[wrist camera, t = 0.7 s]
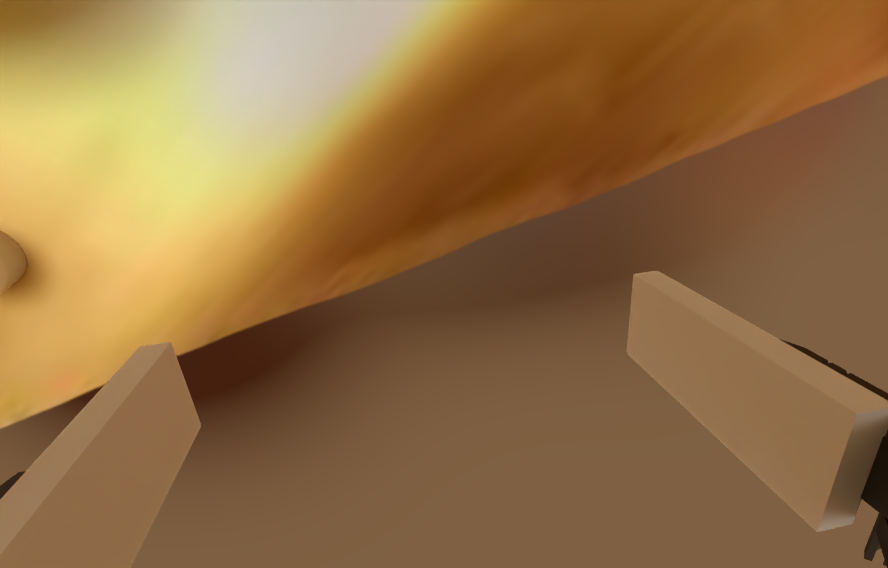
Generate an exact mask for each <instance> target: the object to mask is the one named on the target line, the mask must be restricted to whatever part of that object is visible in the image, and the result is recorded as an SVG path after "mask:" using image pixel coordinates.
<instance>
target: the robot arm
mask: <svg viewBox="0 0 888 568" xmlns="http://www.w3.org/2000/svg"><path fill="white" fill-rule="evenodd" d="M627 354H628V355H629V356H630V357H631V358H633V359H634V360H635V361H636V362H637V363H638V364H639V365H640V366H641V367H642V368H643V369H644V370H645V371H646V372H648V374H650V375H651V376H652V377H653V378H654V379H655V380H656V381H657V382H658V383H659V384H660V385H661V386H662V387H663V388H664V389H665V390H667V391H668V392H669V393H670V394H671V395H672V396H673V397H674V398H675V399H676V400H677V401H678V402H679V403H681V405H682V406H684V407H685V408H686V409H687V410H688V411H689V412H690V413H691V414H692V415H693V416H694V417H695V418H696V419H698V421H700V422H701V423H702V424H703V425H704V426H705V427H706V428H707V429H708V430H709V431H710V432H711V433H713V435H714V436H716V437H717V438H718V439H719V440H720V441H721V442H722V443H723V444H724V445H725V446H726V447H728V449H729V450H730V451H732V452H733V453H734V454H735V455H736V456H737V457H738V458H739V459H740V460H741V461H742V462H743V463H744V464H745V465H746V466H748V468H750V469H751V470H752V471H753V472H754V473H755V474H756V475H757V476H758V477H759V478H760V479H761V480H763V482H765V483H766V484H767V485H768V486H769V487H770V488H771V489H772V490H773V491H774V492H775V493H776V494H777V495H778V496H779V497H781V498H782V499H783V500H784V501H785V502H786V503H787V504H788V505H789V506H790V507H791V508H792V509H793V510H795V512H796V513H798V514H799V515H800V516H801V517H802V518H803V519H804V520H805V521H806V522H807V523H808V524H809V525H810V526H811V527H813V528H814V529H815V530H816V531H817V532H819V531H824V530H828V529H832V528H836V527H840V526H845V525H849V524H853V521H854V518H855V516H856V513H857V510H858V508H859V505H860V502H861V500H862V499H863V500H864V501H865V502H867V503H868V504H869V505H870V506H872V507H873V508H874V509H875V510H877V511H878V512H879V515H878V517H877V520H876V522H875V525H874V527H873V530H872V532H871V535H870V537H869V540H868V542H867V545H866V547H865V550H864V558H865V559H867V560H870V561H872V560H873V557H874V555H875V552H876V551H877V550H878V549H880V548H881V549H882V553H883V556H884V559H885V560H884V563H883V565H885V566H887V568H888V393H886V392H884V391H882V390H881V389H879V388H877V387H875V386H873V385H871V384H870V383H868V382H866V381H864V380H862V379H860V378H859V377H857V376H855V375H853V374H852V373H850V374H847V372H846V370H844V369H842V368H841V367H839V366H837V365H835V364H833V363H828V361H827V360H826V359H824V358H822V357H820V356H819V355H817V354H815V353H813V352H811V351H810V350H808V349H806V348H804V347H801V346H798V345H795V344H792V343H789V342H786V341H783V340H781V339H778V338H775V337H774V336H772V335H770V334H769V333H767V332H765V331H763V330H762V329H760V328H758V327H756V326H754V325H753V324H751V323H749V322H747V321H745V320H744V319H742V318H740V317H739V316H737V315H735V314H733V313H731V312H730V311H727V310H726V309H724V308H722V307H720V306H719V305H717V304H715V303H714V302H712V301H710V300H708V299H707V298H705V297H703V296H701V295H699V294H698V293H696V292H694V291H692V290H691V289H689V288H687V287H685V286H684V285H682V284H680V283H678V282H676V281H675V280H673V279H671V278H669V277H667V276H666V275H664V274H662V273H660V272H659V271H652V272H645V273H638V274H634V276H633V288H632V299H631V310H630V322H629V335H628V346H627ZM200 427H201V424H200V421H199V418H198V415H197V413H196V410H195V407H194V404H193V402H192V399H191V396H190V393H189V391H188V388H187V385H186V382H185V379H184V377H183V374H182V371H181V368H180V366H179V363H178V360H177V357H176V355H175V352H174V349H173V346H172V344H171V342H168V343H161V344H155V345H148V346H141V347H139V348H138V349H137V350H136V352H135V353H134V354H133V355H132V356H131V357H130V358H129V359H128V360H127V361H126V362H125V364H124V365H123V366H122V367H121V368H120V369H119V370H118V371H117V372H116V373H115V375H114V376H113V377H112V378H111V379H110V380H109V381H108V382H107V383H106V384H105V385H104V387H103V388H102V389H101V390H100V391H99V392H98V393H97V394H96V395H95V397H94V398H93V399H92V400H91V401H90V402H89V403H88V404H87V405H86V406H85V407H84V408H83V410H82V411H81V412H80V413H79V414H78V415H77V416H76V417H75V418H74V419H73V420H72V422H71V423H70V424H69V425H68V426H67V427H66V428H65V429H64V430H63V432H61V434H60V435H59V436H58V437H57V438H56V439H55V440H54V441H53V442H52V444H51V445H50V446H49V447H48V448H47V449H46V450H45V451H44V452H43V453H42V455H41V456H40V457H39V458H38V459H37V460H36V461H35V462H34V463H33V464H32V465H31V467H30V468H29V469H28V470H27V471H25V472H19V473H17V474H16V475H14V476H13V477H12V478H10V479H9V480H7V481H6V482H5V483H3V484H2V485H1V486H0V568H130V567H131V565H132V563H133V561H134V559H135V557H136V555H137V553H138V551H139V549H140V547H141V545H142V543H143V541H144V539H145V537H146V535H147V533H148V531H149V529H150V527H151V525H152V523H153V521H154V519H155V517H156V515H157V513H158V511H159V509H160V507H161V505H162V503H163V501H164V499H165V497H166V495H167V493H168V491H169V489H170V487H171V485H172V483H173V481H174V479H175V477H176V475H177V473H178V471H179V469H180V467H181V465H182V463H183V461H184V459H185V457H186V455H187V453H188V451H189V449H190V447H191V445H192V443H193V441H194V439H195V437H196V435H197V433H198V431H199V429H200Z"/></svg>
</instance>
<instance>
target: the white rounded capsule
mask: <svg viewBox="0 0 888 568" xmlns="http://www.w3.org/2000/svg"><path fill="white" fill-rule="evenodd" d="M26 268H27V259H26V256H25V253H24V251H23V250H22V248H21V247H20V246H19V244H18V243H17V242H16V241H15V240H13V239H12V238H11V237H10V236H8V235H7V234H5V233H3V232H2V231H0V295H1V294H3V293H4V292H5V291H6V290H7V289H8V288H9V287H11V286H12V285H13V284H14V283H15V282H16V281H17V280H19V279H20V278H21V277H22V276H23V274H24V273H25V271H26Z"/></svg>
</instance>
